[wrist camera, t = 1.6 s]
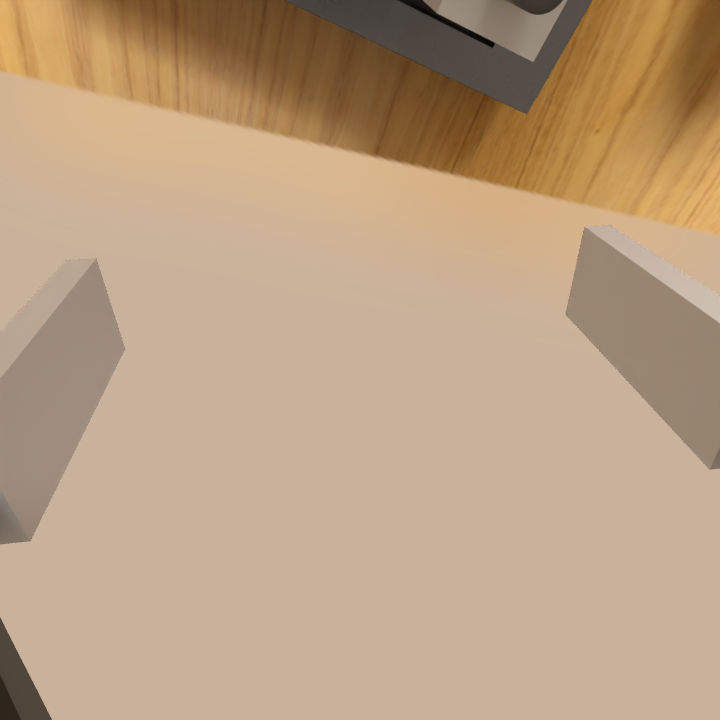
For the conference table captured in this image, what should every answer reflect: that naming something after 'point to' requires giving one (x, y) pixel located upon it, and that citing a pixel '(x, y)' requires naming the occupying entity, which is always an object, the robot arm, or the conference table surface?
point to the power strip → (453, 44)
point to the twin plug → (505, 20)
